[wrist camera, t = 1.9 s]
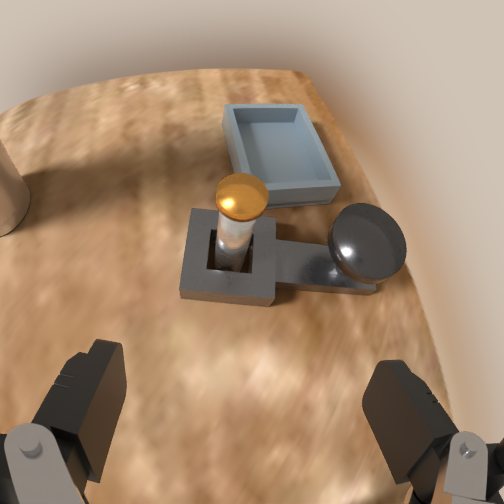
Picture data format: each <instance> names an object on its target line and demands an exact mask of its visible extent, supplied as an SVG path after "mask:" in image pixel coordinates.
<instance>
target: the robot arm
mask: <svg viewBox="0 0 504 504" xmlns="http://www.w3.org/2000/svg"><path fill="white" fill-rule="evenodd" d="M29 204H30V191H29V189H28V187H27V185H26V184H25V182H24V180H23V179H22V177H21V175H20V174H19V172H18V170H17V168H16V167H15V165H14V163H13V162H12V160H11V158H10V156H9V155H8V153H7V151H6V149H5V147H4V146H3V144H2V142H1V140H0V236H3V235H5V234H7V233H9V232H10V231H12V230H13V229H14V228H15V227H16V226H17V225H18V224H19V223H20V222H21V220H22V219H23V217H24V216H25V214H26V212H27V210H28V207H29ZM126 388H127V381H126V373H125V365H124V356H123V348H122V344H121V343H117V342H112V341H106V340H101V339H96V340H95V342H94V343H93V345H92V347H91V349H90V350H89V352H88V354H86V353H82V352H79V353H77V354H76V355H75V356H73V357H72V358H71V359H69V360H68V361H67V362H66V364H65V365H64V367H63V368H62V370H61V372H60V375H58V377H57V378H56V380H55V382H54V385H52V387H51V389H50V390H49V392H48V394H47V395H46V397H45V399H44V401H43V402H42V404H41V406H40V408H39V410H38V411H37V413H36V415H35V417H34V419H33V420H32V422H31V423H26V424H21V425H19V426H16V427H15V428H13V429H12V430H11V431H10V432H9V433H8V434H0V504H90V502H89V500H88V498H87V496H86V494H85V492H84V490H85V487H86V483H87V480H90V481H93V482H97V483H100V480H101V476H102V472H103V469H104V465H105V462H106V458H107V455H108V451H109V448H110V445H111V441H112V438H113V435H114V431H115V428H116V425H117V422H118V419H119V416H120V413H121V409H122V406H123V403H124V400H125V396H126ZM362 407H363V411H364V414H365V416H366V418H367V420H368V422H369V424H370V427H371V429H372V431H373V433H374V435H375V438H376V440H377V442H378V444H379V446H380V449H381V451H382V453H383V455H384V458H385V460H386V462H387V464H388V467H389V469H390V471H391V473H392V476H393V478H394V480H395V483H396V485H397V484H401V483H404V482H408V481H410V482H411V484H412V486H411V487H410V488H409V489H408V491H407V494H406V497H405V500H404V503H403V504H504V502H503V500H502V498H501V496H500V494H499V492H498V491H499V490H500V489H501V488H502V487H503V486H504V438H503V440H502V441H501V442H500V443H497V444H496V443H495V444H485V442H484V441H483V440H482V439H481V438H480V437H479V436H477V435H476V434H474V433H471V432H466V431H464V432H459V430H458V429H457V428H456V426H455V425H454V423H453V422H452V420H451V419H450V417H449V416H448V414H447V413H446V411H445V410H444V409H443V407H442V406H441V404H440V403H438V400H437V399H436V397H435V396H434V394H432V392H431V390H430V389H429V387H428V386H427V385H426V383H425V382H424V381H423V380H421V379H420V378H419V377H418V376H416V375H415V374H414V373H412V372H411V371H410V369H409V368H408V367H407V365H406V364H405V362H404V361H402V360H383V361H380V362H379V363H378V364H377V366H376V368H375V370H374V373H373V375H372V377H371V379H370V382H369V384H368V386H367V388H366V390H365V393H364V395H363V399H362Z"/></svg>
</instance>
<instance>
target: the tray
mask: <svg viewBox="0 0 504 504" xmlns="http://www.w3.org/2000/svg"><path fill="white" fill-rule="evenodd" d="M222 126H223V130H224V134H225V138H226V142H227V147H228V151H229V155H230V159H231V163H232V167H233V172H234V173H246V174H250V175H253V176H255V177H257V178H258V179H260V180H261V181H262V182H263V183H264V184H265V186H266V187H267V189H268V193H269V199H268V203H267V206H266V209H273V208H284V207H295V206H306V205H318V204H331V202H332V200H333V199H334V197H335V195H336V194H337V192H338V191H339V189H340V187H341V184H340V181H339V179H338V177H337V175H336V172H335V170H334V168H333V166H332V164H331V161H330V159H329V157H328V155H327V153H326V151H325V149H324V147H323V144H322V142H321V140H320V138H319V136H318V134H317V132H316V130H315V128H314V126H313V124H312V122H311V120H310V118H309V116H308V114H307V112H306V110H305V108H304V107H303V105H300V104H229V105H225V106H224V114H223V123H222Z"/></svg>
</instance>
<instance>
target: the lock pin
mask: <svg viewBox="0 0 504 504" xmlns="http://www.w3.org/2000/svg"><path fill="white" fill-rule="evenodd" d="M268 199H269V193H268V189H267V187H266V186H265V184H264V183H263V182H262V181H261V180H260V179H258V178H257V177H255V176H253V175H250V174H246V173H234V174H231V175H228V176H226V177H225V178H223V179H222V180H221V181H220V182H219V184H218V186H217V190H216V205H217V208H218V210H219V219H218V228H217V238H216V247H215V257H214V266H215V268H216V270H219V271H229V272H240V270H241V269H242V266H243V263H244V259H245V256H246V253H247V250H248V246H249V243H250V240H251V237H252V233H253V230H254V227H255V224H256V220H257V218H259V217H260V216H261V215H262V214H263V213H264V211H265V209H266V206H267V203H268Z"/></svg>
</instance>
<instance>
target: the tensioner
mask: <svg viewBox="0 0 504 504" xmlns="http://www.w3.org/2000/svg"><path fill="white" fill-rule="evenodd" d="M218 219H219V211H215V210H206V209H196V208H192V209H191V215H190V221H189V227H188V233H187V239H186V246H185V252H184V259H183V266H182V273H181V280H180V287H179V291H180V296H181V298H182V299H191V300H200V301H209V302H219V303H230V304H240V305H252V306H264V307H269V306H270V305H271V303H272V302H273V301H274V299H275V288H278V289H289V290H301V291H314V292H327V293H340V294H355V295H370V294H371V293H373V292H374V291H376V290H377V288H376V284H378V283H381V282H383V281H385V280H386V279H388V278H389V277H390V276H392V275H393V274H394V273H396V272H397V271H398V270H399V269H400V268H401V267H402V265H403V264H404V261H405V258H406V242H405V238H404V235H403V233H402V231H401V229H400V227H399V226H398V224H397V223H396V221H395V220H394V219H393V218H392V217H391V216H390V215H389V214H387V213H386V212H385V211H383V210H382V209H380V208H378V207H376V206H374V205H370V204H365V203H356V204H352V205H349V206H347V207H346V208H344V209H343V210H342V211H341V212H340V214H339V215H338V217H337V218H336V220H335V221H334V223H333V224H332V225H331V227H330V230H329V233H328V246H327V245H319V244H311V243H302V242H294V241H285V240H277V239H276V218H275V217H267V216H260V217H259V218H257V220H256V224H255V227H254V230H253V233H252V237H251V240H250V243H249V246H250V254H249V272H248V273H239V272H229V271H219V270H210V269H207V264H208V255H209V246H210V242H213V243H216V238H217V228H218Z"/></svg>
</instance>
